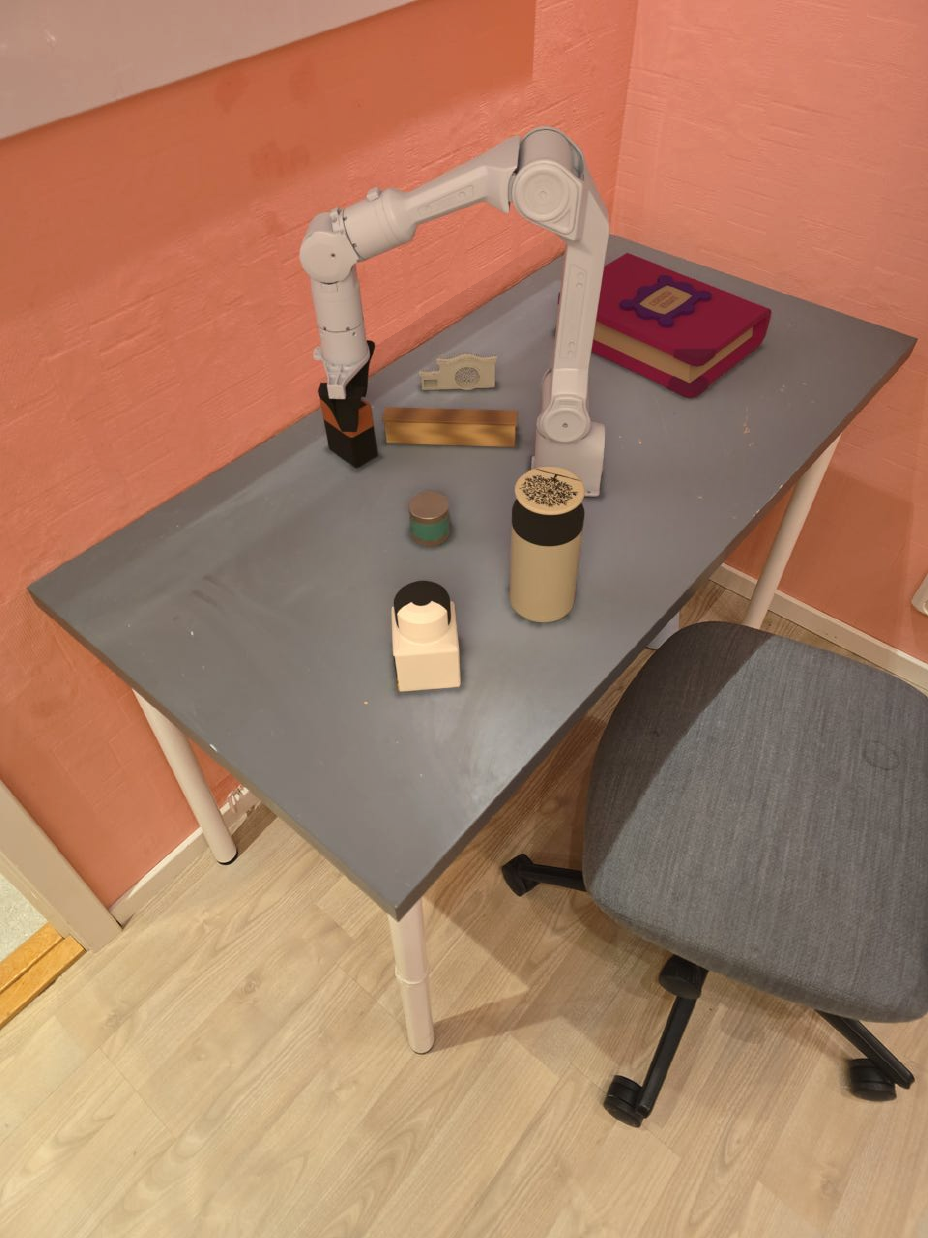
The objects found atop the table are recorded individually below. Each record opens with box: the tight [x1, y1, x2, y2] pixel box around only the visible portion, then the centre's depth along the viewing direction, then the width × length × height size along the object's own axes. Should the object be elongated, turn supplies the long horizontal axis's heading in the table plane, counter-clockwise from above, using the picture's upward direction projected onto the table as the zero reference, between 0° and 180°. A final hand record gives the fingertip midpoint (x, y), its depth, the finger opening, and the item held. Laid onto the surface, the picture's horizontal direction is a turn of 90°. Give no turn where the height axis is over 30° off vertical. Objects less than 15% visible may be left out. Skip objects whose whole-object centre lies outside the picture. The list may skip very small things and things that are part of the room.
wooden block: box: [381, 406, 519, 448], centre depth 123 cm, size 19×4×4 cm, turn 85°
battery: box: [319, 398, 379, 469], centre depth 119 cm, size 4×7×10 cm, turn 43°
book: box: [557, 252, 772, 399], centre depth 137 cm, size 21×28×8 cm
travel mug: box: [509, 467, 585, 623], centre depth 97 cm, size 8×8×18 cm
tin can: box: [407, 490, 451, 547], centre depth 110 cm, size 5×5×5 cm
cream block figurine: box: [390, 580, 462, 692], centre depth 93 cm, size 7×7×12 cm
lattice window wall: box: [418, 352, 498, 391], centre depth 131 cm, size 12×2×6 cm, turn 92°
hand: (354, 412), depth 113 cm, fingers open, 7 cm apart
